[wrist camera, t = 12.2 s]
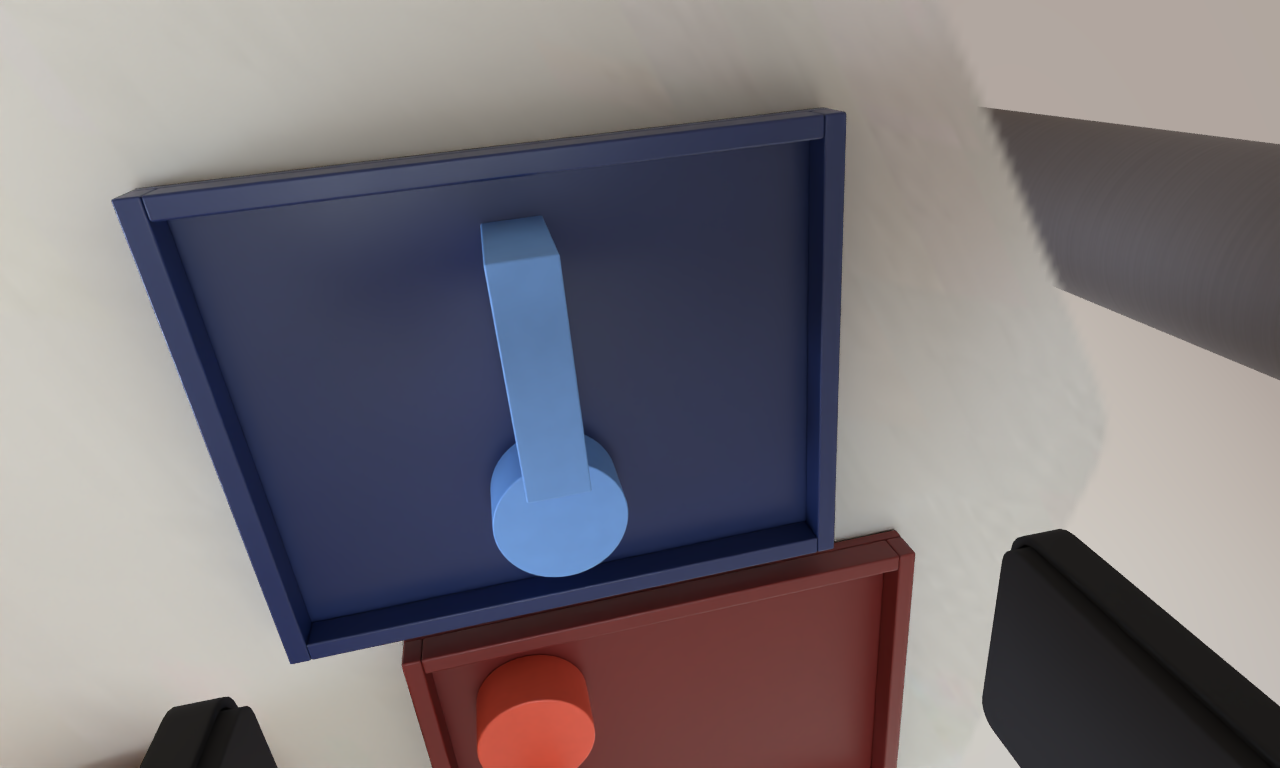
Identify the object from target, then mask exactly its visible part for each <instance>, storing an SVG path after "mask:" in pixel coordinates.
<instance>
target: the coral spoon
mask: <svg viewBox="0 0 1280 768" xmlns="http://www.w3.org/2000/svg"><path fill="white" fill-rule="evenodd" d="M476 724H477V755H478V759H479V762H480V764H481V765H482V767H483V768H577V767H578V766H579V765H581V764H582V763H583V762H584V760H585V759H586V758H587V756H588V755H589V753H590V752H591V749H592V747H593V744H594V741H595V727H594V722H593V716H592V711H591V706H590V700H589V695H588V690H587V685H586V681H585V678H584V676H583V675H582V673H581V672H580V670H579V669H578V668H577V667H576V666H574V665H573V664H572V663H570V662H568V661H567V660H564V659H562V658H559V657H555V656H550V655H530V656H524V657H520V658H517V659H514V660H511V661H509V662H507V663H505V664H503V665H502V666H500V667H498V668H497V669H496V670H494V671H493V672H492V673H491V674H490V675H489V676H488V677H487V678H486V679H485V681H484V682H483V684H482V685H481V687H480V689H479V692H478V694H477V699H476Z"/></svg>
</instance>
